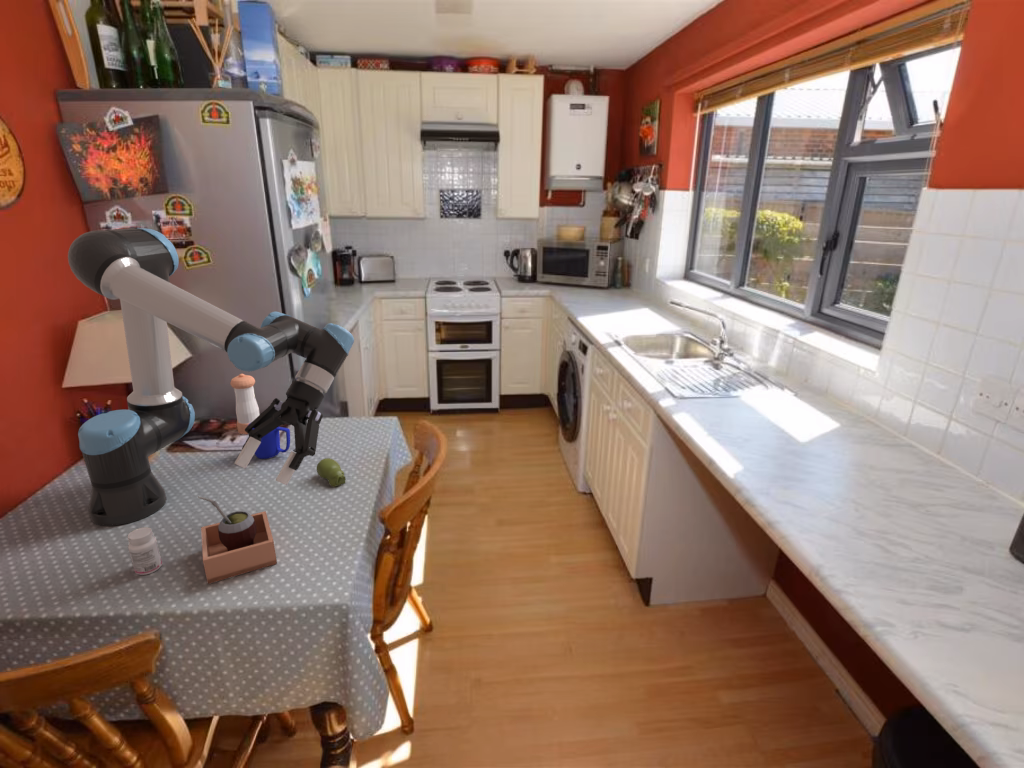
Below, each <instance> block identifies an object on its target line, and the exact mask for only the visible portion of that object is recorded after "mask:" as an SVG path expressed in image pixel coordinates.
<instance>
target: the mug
mask: <svg viewBox="0 0 1024 768" xmlns="http://www.w3.org/2000/svg"><path fill="white" fill-rule="evenodd" d="M253 429H254V428H253ZM280 431H282V432H285V434H286V437H285V438H286V441H285V442H286V445H285V446H286V447H285V449H282V448H281V439H280V438H281V436H280V434H281V433H280ZM260 442H261V443H260V445H259V447H258V448H257V450H256V452H255V453H254V455H255V457H256V458H257V459H260V460H261V459H262V460H266V459H268V460H269V459H271V458H274V457H277V456H278V455H279V454H280V453H286V452H288V450H289V449H290V446H291V429H290V428H288V427H283V426H279V427H277V428H276V429H274V430H273V431H271V432H270V433H268V434H267V435H265V436H264V437H262V438H261V441H260Z"/></svg>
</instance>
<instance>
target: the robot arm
mask: <svg viewBox="0 0 1024 768" xmlns="http://www.w3.org/2000/svg"><path fill="white" fill-rule="evenodd" d="M179 260H180V259H179V255H178V252H177V249H176V247H175V245H174V244H173V243H172V242H171V240H169V239H168V238H167V237H166V235H164V234H163V233H161V232H160V231H157V230H155V229H151V228H145V227H127V228H114V229H106V230H105V229H104V230H103V229H102V230H101V229H100V230H98V229H97V230H91V231H88V232H84V233H82V234H80V235H79V236H78V237H76V238H75V239H74V240H73V241H72V243H71V244H70V246H69V249H68V252H67V261H68V265H69V267H70V271H71V272H72V273H73V275H74V276H75V278H76V279H77V280H78V281H80V282H81V283H82V284H83V286H85V287H86V288H89V289H90V291H93V292H95V293H97V294H98V295H101V296H102V297H105V298H106V299H108V300H119V302H120V309H121V316H122V321H123V328H124V335H125V343H126V348H127V349H126V350H127V356H128V357H127V358H128V362H129V371H130V377H131V383H132V390H133V391H132V392H131V393H130V394H129V395H128V396H127V397H126V402H127V408H128V409H116V410H110V411H108V412H107V413H104V412H102V413H100V414H97V415H95V416H92V417H91V418H89V419H88V420H86V421H85V422H84V423H82V425H81V426H80V427H79V429H78V432H77V436H78V441H79V443H78V446H79V450H80V451H81V454H82V458H83V459H84V463H85V468H86V471H87V474H88V478H89V480H90V485H91V493H90V499H89V505H88V512H89V513H88V514H89V516H90V519H91V522H93V524H96V525H99V526H104V527H105V526H106V527H107V526H109V527H110V526H119V525H125V524H129V523H134V522H136V521H139V520H143V519H145V518H146V517H149V516H151V515H153V514H155V513H156V512H158V511H159V510H160V509H161V508H163V507H164V505H165V504H166V502H167V495H166V491H165V489H164V487H163V486H162V485H161V483H160V482H159V480H158V479H157V478H156V476H155V475H154V474H153V471H152V468H151V464H150V460H149V457H150V456H152V455H153V454H155V453H157V452H158V451H161V450H162V449H163V448H165V447H167V446H168V445H170V444H173V443H175V442H177V441H179V440H180V439H181V438H183V437H184V436H185V435H186V434H188V433H189V432H190V431H191V429H192V427H193V426H194V423H195V422H196V421H195V419H196V416H195V415H196V413H195V409H194V407H193V404H192V403H189V399H188V398H187V397H185V396H184V395H183V392H182V391H181V390H180V389H178V388H176V386H175V381H174V372H173V365H172V355H171V347H170V339H169V330H168V324H170V325H172V326H173V327H175V328H178V329H180V330H182V331H184V332H186V333H187V334H190V335H192V336H193V337H196V338H198V339H199V340H202V341H204V342H205V343H207V344H210V345H211V346H212V347H215V348H218V349H220V350H222V351H223V352H225V353H227V357H228V360H229V361H230V362H231V363H232V364H233V365H234V367H235V368H236V369H239V370H240V371H242V372H248V373H249V372H254V371H257V370H261V369H263V368H266V367H268V366H269V365H271V364H272V363H274V362H275V361H278V360H279V359H281V358H284V357H286V356H288V355H289V354H291V353H292V354H295V355H297V356H299V357H302V358H305V360H304V362H303V363H302V364H301V366H300V368H299V370H298V371H297V373H296V375H295V376H294V378H295V380H293V381H292V382H291V384H290V386H289V387H288V389H287V390H286V392H285V395H286V400H285V401H284V402H283V401H282V400H280V399H279V398H274V399H273V400H272V401H271V403H270V404H269V406H268V407H267V408H265V409H264V410H263V411H262V412H261V413H259V414H260V415H259V416H258V417H257V418H256V419H255V420H254V421H253V422H251V423H250V424H249V425H248V426H247V427H246V428H245V431H246V432H247V433H248V434H247V435H248V437H247V439H246V441H245V442H244V444H243V446H242V448H241V450H240V453H239V454H238V456H237V457H236V459H235V461H234V463H233V464H234V465H237V466H239V467H241V468H244V470H245V469H246V468H247V466H248V465H249V463H250V462H251V461H252V458H253V457H254V455H255V454H254V453H255V452H256V450H257V448H258V447H259V445H260V443H261V442H260V441H261V438H262V437H264V436H265V435H267V434H268V433H270V432H271V431H273V430H274V429H276V428H277V427H281V426H284V425H288V426H292V427H293V432H294V448H295V449H293V450H292V451H291V452H290V453H289V455H288V457H287V458H286V461H285V462H284V464H283V465H282V467H281V468H280V471H279V473H278V475H277V476H276V477H275V482H278V483H280V484H283V485H284V486H287V485H288V484H289V482H290V481H291V479H292V477H293V475H294V473H295V471H297V470H298V469H299V468H300V466H301V464H302V462H303V461H304V460H305V459H304V458H306V457H309V456H311V457H314V456H315V455H316V450H317V445H318V439H319V438H318V436H319V431H320V430H319V429H320V423H321V422H322V419H323V417H324V415H323V414H322V413H321V412H320V411H318V409H319V407H320V405H321V403H322V401H323V400H324V399H325V395H324V394H326V393H328V391H329V389H330V387H331V385H332V384H333V382H334V379H335V378H336V376H337V374H338V373H339V370H340V369H341V367H342V365H343V364H344V363H345V360H346V359H347V357H348V356H349V353H350V351H351V348H352V347H353V346H354V342H355V338H354V335H353V334H352V333H351V332H350V331H349V330H348V329H346V328H345V327H343V326H341V325H338V324H337V323H336V324H335V323H327V324H325V326H324V327H323V328H319V327H317V326H316V327H315V326H313V325H311V324H308V323H306V322H304V321H301V320H299V319H297V318H295V317H293V316H292V315H289V314H285V313H282V312H279V311H271V312H270V313H268V314H267V316H265V317H264V319H263V320H262V322H261V324H260V327H257V326H255V325H253V324H251V322H247V321H246V320H243V319H241V318H240V317H238V316H235V315H234V314H231V313H230V312H228V311H226V310H224V309H222V308H219V307H218V306H216V305H214V304H212V303H210V302H208V301H206V300H205V299H202V298H200V297H198V296H196V295H195V294H192V293H190V292H189V291H187V290H185V289H183V288H180V287H179V286H177V285H176V284H173V283H171V282H170V277H171V276H173V274H174V273H175V272H176V271H177V270H178V267H179V262H180V261H179ZM253 428H254V429H253Z"/></svg>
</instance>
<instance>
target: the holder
mask: <svg viewBox="0 0 1024 768" xmlns="http://www.w3.org/2000/svg"><path fill="white" fill-rule="evenodd" d="M250 515H251V516H253V518H254V520H255V523H256V528H257V531H256V535H255V538H254V545H250V546H246V547H243V548H239V549H235V550H232V551H228V550H227V548H226V547H225V546H224V545H223V544H222V542H221V541H220V538H219V533H218V526H219V524H220V522H215V523H212V524H209V525H204V526H202V527H200V530H201V531H200V532H201V547H202V548H201V549H202V550H201V551H202V562H203V568H204V573H205V576H206V582H207V585H211V584H213V583H217V582H219V581H222V580H223V581H224V580H227V579H230V578H233V577H236V576H240V575H243V574H247V573H251V572H254V571H257V570H260V569H265V568H267V567H270V566H275V565H277V564H278V561H277V554H276V553H277V552H276V547H275V541H274V538H273V534H272V529H271V526H270V522H269V519H268V514H267V512H266V510H265V511H260V512H257V513H253V514H250Z"/></svg>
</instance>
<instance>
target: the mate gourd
mask: <svg viewBox="0 0 1024 768" xmlns="http://www.w3.org/2000/svg"><path fill="white" fill-rule="evenodd" d="M197 498H198V499H200V500H204V501H207V502H209V503H211V505H212V506H213V507H215V509H216V510H217V511H218V513H219V514H220V515H221V517H222V518H221V521H220V522H219V523H220V524H219V526H218V533H219V538H220V541H221V542H222V544H223V545H224V546H225V547H226V548H227V550H228V551H232V550H235V549H239V548H243V547H246V546H250V545H254V538H255V535H256V531H257V528H256V523H255V520H254V518H253V516H251V515H252V514H250V513H248V512H247V511H242V510H241V511H233V512H231V513H228V514H225V512H224V511H223V510H222V508H221V507H220V505H219V504H218V502H217V501H216V500H214V499H211V498H209V497H203V496H200V495H199V496H197Z"/></svg>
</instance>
